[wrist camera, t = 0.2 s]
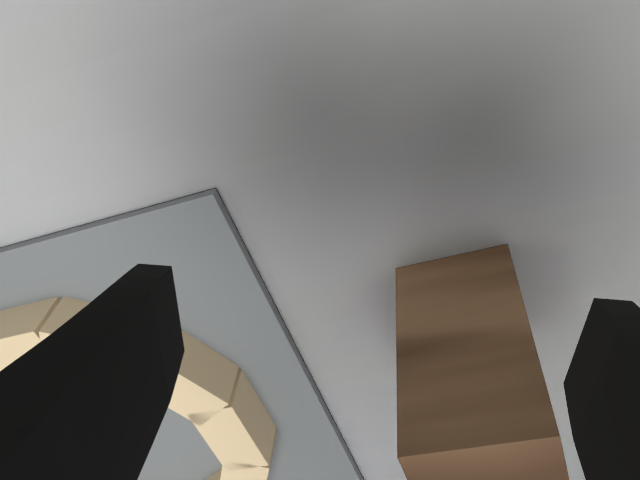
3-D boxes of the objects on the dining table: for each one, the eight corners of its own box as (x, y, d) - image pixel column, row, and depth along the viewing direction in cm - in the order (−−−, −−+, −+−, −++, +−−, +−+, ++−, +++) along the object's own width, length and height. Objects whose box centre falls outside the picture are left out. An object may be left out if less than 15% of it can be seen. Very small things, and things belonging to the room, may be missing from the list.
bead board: (380, 512, 31) (379, 559, 29) (61, 547, 36) (42, 588, 34) (215, 188, 21) (197, 226, 19) (-195, 302, 26) (-243, 341, 24)
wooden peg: (526, 326, 23) (579, 527, 16) (422, 345, 24) (434, 541, 18) (507, 243, 21) (559, 436, 14) (395, 268, 22) (397, 457, 15)
